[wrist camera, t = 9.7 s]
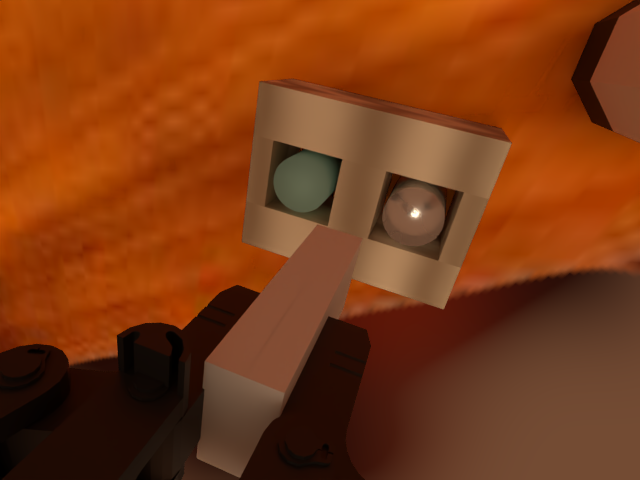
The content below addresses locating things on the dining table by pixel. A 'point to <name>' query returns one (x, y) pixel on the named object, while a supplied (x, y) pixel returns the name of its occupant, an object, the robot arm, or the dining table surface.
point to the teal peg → (306, 180)
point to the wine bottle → (613, 72)
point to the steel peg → (415, 211)
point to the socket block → (371, 180)
